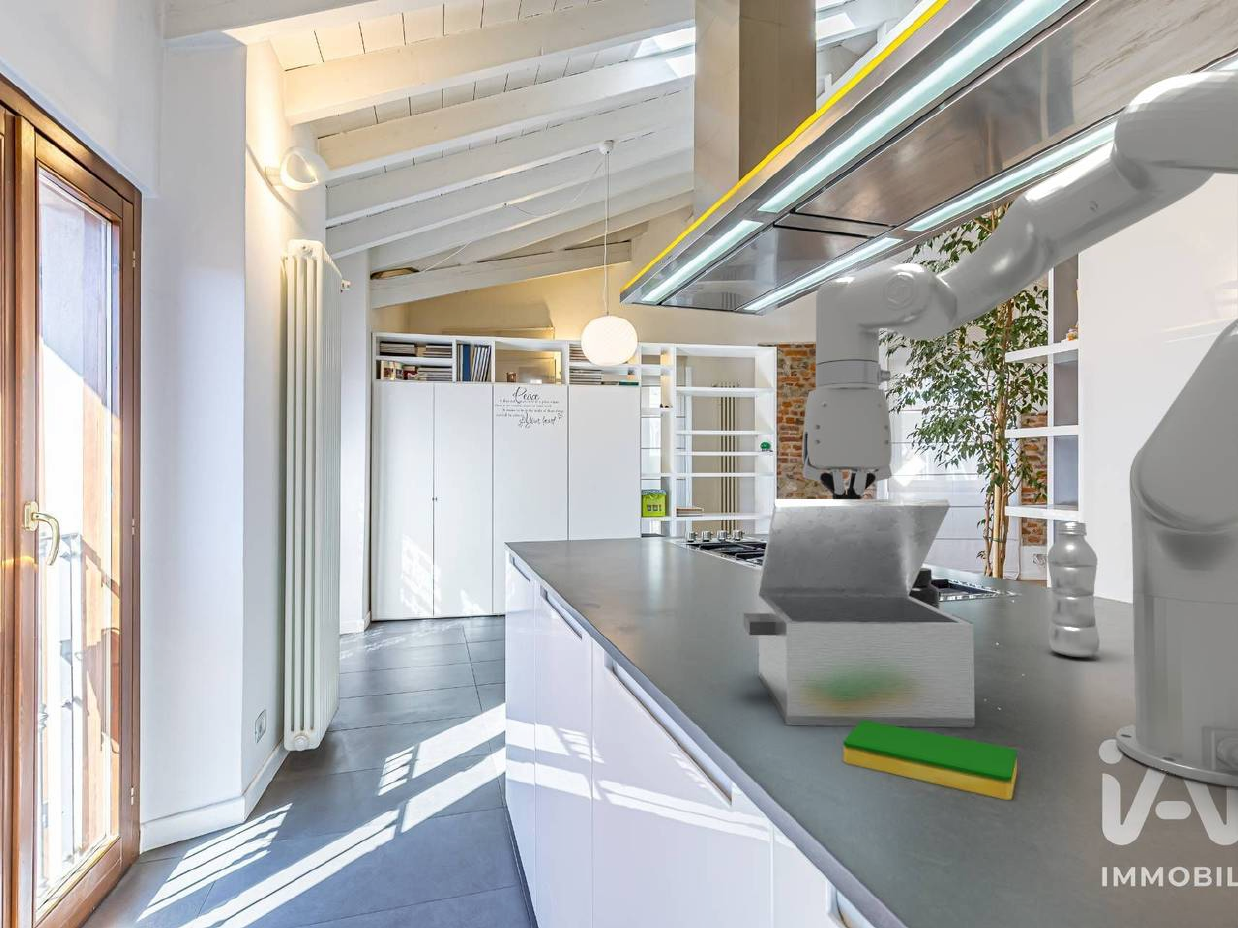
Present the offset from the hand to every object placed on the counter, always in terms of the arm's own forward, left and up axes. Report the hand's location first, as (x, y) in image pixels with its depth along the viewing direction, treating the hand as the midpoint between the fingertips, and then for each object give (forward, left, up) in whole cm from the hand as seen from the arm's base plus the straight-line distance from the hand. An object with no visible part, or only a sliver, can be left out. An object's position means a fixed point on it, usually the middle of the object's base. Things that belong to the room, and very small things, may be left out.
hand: (846, 526), depth 84 cm
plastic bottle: (+19, -39, -21) cm, 49 cm away
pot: (-2, 0, -21) cm, 21 cm away
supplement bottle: (+27, -19, -21) cm, 39 cm away
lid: (+1, 0, -3) cm, 4 cm away
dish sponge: (-21, -1, -22) cm, 30 cm away
